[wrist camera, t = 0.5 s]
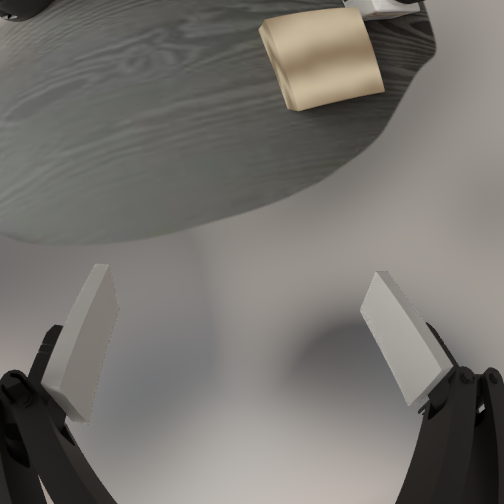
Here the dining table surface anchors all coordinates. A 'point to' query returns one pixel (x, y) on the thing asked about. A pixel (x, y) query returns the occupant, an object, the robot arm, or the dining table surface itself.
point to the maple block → (321, 57)
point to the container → (383, 8)
